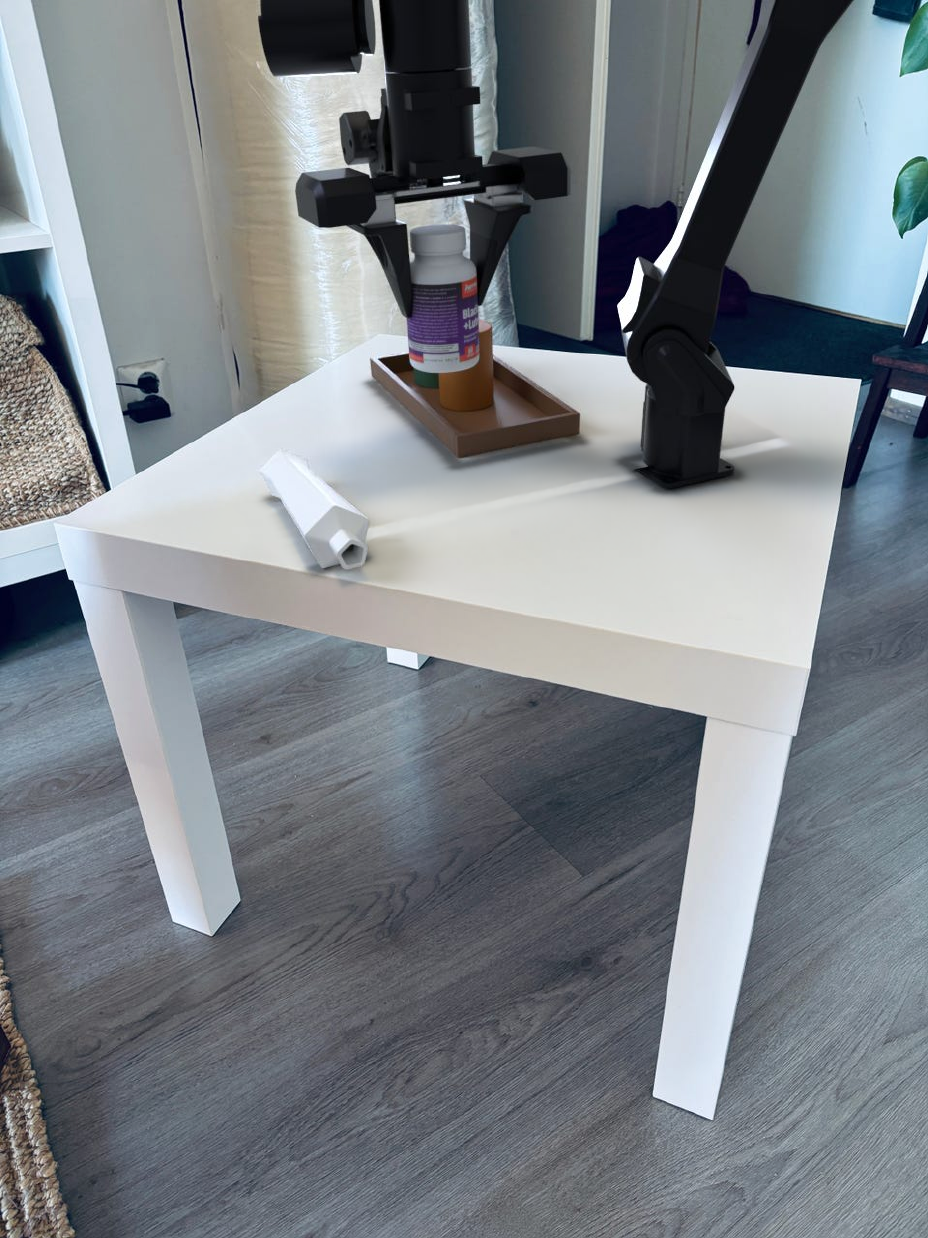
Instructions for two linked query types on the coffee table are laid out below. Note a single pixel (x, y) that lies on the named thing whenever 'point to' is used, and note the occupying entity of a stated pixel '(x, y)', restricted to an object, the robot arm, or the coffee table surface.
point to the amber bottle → (471, 378)
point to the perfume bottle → (317, 511)
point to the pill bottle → (442, 301)
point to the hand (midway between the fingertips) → (442, 310)
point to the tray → (504, 424)
